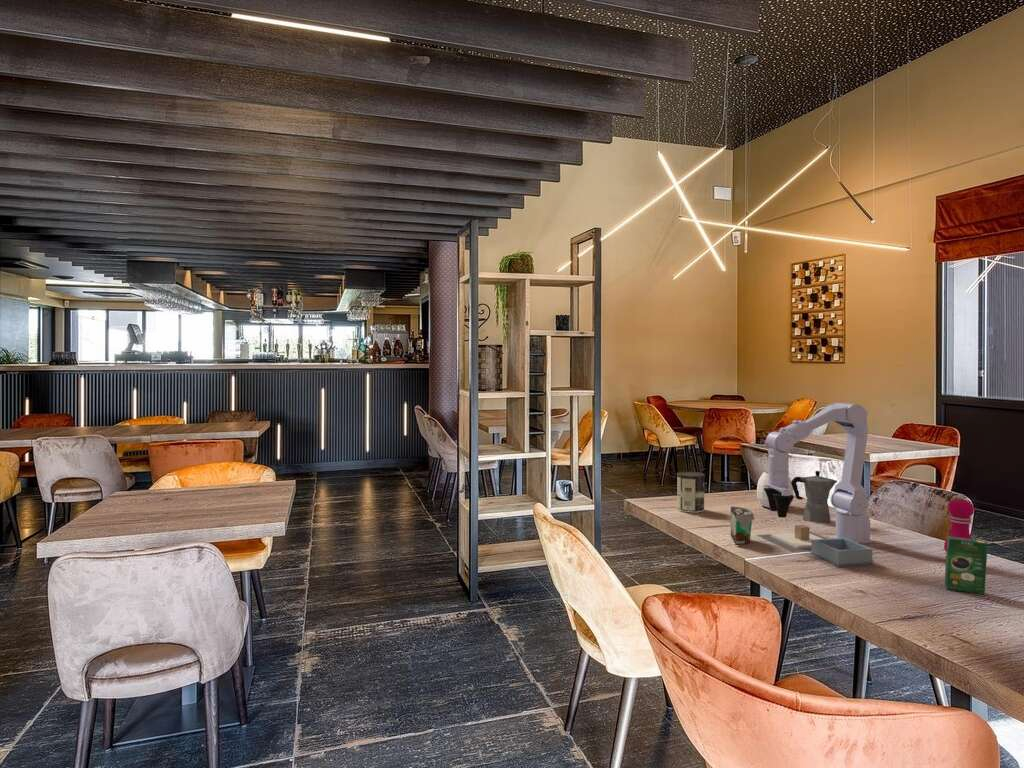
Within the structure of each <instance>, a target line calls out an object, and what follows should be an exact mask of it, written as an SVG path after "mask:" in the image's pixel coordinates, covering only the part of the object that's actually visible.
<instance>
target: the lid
mask: <svg viewBox="0 0 1024 768" xmlns="http://www.w3.org/2000/svg"><path fill="white" fill-rule="evenodd" d="M810 528H811V527H810V526H807V525H805V524H795V525H794V532H788V533H787V532H786V533H785V532H784V533H770V534H771V537H773V538H775V539H777V540H779V541H781V542H784V543H786V544H788V545H790V546H792V547H795V548H797V549H800V548H811V545H812V540H817V539H822V538H820V537H817V536H815V535H812V534H810V533H809V532H811V531H810Z"/></svg>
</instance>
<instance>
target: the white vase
mask: <svg viewBox="0 0 1024 768" xmlns="http://www.w3.org/2000/svg"><path fill="white" fill-rule="evenodd" d="M768 480H769V470H767V471H763V472H762V474H761V475H760V477H759V479H758V481H757V485H756V486H757V487H756V498H757V500H758V502H759V504H760V505H761V506H763V507H765V508H769V509H770V506H769V501H768V498H767V495H766V492H765V491H764V488H769V487H765V486H764V484H768ZM791 481H792V479H791V477H789V483H788V485H789V490H790V495H793V496H794V490H793V487H792V484H791ZM792 502H793V500H792V501H791V503H790V505H789V507H790V506H791V504H792Z"/></svg>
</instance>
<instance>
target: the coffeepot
mask: <svg viewBox="0 0 1024 768" xmlns="http://www.w3.org/2000/svg"><path fill="white" fill-rule="evenodd" d="M814 473H815V475H813V476H812V475H811V476H795V477H794V478H793V479H791V484H792V487H793V494H794V496H795V498H796V499H797V500H799V501H802V500H803V499H804V496H800V491H799V489H798V484H797V483H802V484H803V486H804V491H805V497H806V502H805V506H804V511H803V516H802V520H803V521H805V522H811V523H818V524H823V523H827V524H830V523H831V514H830V508H829V503H828V500H829V498H830V493H831V490H832V489H833V487H835V485H836V483H838V480H836V479H833V478H828V477H823V476H820V474H821V471H820V470H815V471H814Z"/></svg>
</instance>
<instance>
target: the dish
mask: <svg viewBox="0 0 1024 768" xmlns="http://www.w3.org/2000/svg"><path fill="white" fill-rule="evenodd" d="M873 549H874V548H871V547H869V546H867V545H864V544H862V543H856V542H854V541H851V540H849V539H846V538H827V539H817V540H812V545H811V551H810V552H811V553H810V554H811V555H813V556H815V557H818V558H820V559H822V560H824V561H827V562H829V563H831V564H833V565H834V567H837V568H845V567H858V566H859V565H860V566H869V565H873V553H874V552H873Z"/></svg>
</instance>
